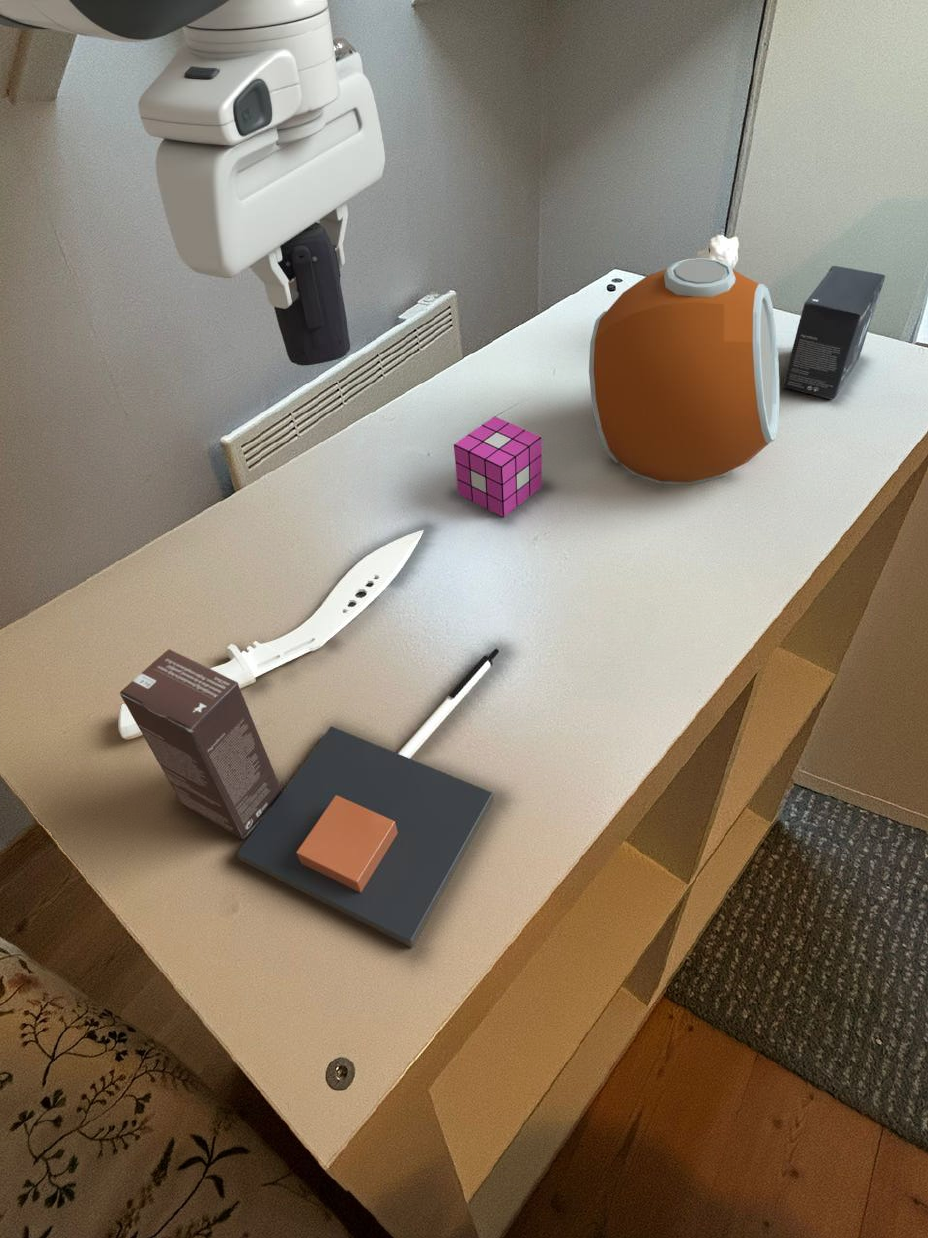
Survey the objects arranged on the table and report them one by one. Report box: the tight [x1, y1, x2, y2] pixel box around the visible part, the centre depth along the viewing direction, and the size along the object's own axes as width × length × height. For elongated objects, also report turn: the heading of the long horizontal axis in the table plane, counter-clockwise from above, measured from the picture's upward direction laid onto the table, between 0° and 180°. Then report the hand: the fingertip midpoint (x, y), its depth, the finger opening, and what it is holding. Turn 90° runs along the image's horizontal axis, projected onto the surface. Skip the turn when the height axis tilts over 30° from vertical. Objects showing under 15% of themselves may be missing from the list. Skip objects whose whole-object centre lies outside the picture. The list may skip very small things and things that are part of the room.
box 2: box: [782, 265, 886, 400], centre depth 84 cm, size 9×6×10 cm, turn 147°
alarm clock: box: [588, 257, 780, 485], centre depth 74 cm, size 19×18×17 cm
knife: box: [117, 529, 425, 740], centre depth 67 cm, size 30×2×8 cm
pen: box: [396, 648, 500, 759], centre depth 59 cm, size 1×19×1 cm, turn 145°
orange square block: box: [296, 795, 398, 893], centre depth 52 cm, size 4×4×2 cm
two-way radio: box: [273, 222, 351, 367], centre depth 60 cm, size 6×4×15 cm
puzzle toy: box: [453, 415, 543, 518], centre depth 76 cm, size 6×6×6 cm
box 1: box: [119, 649, 283, 840], centre depth 52 cm, size 6×4×12 cm
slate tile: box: [236, 725, 494, 949], centre depth 54 cm, size 13×11×1 cm
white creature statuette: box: [696, 234, 740, 270], centre depth 89 cm, size 10×9×12 cm
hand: (308, 285), depth 62 cm, fingers closed on two-way radio, 5 cm apart
